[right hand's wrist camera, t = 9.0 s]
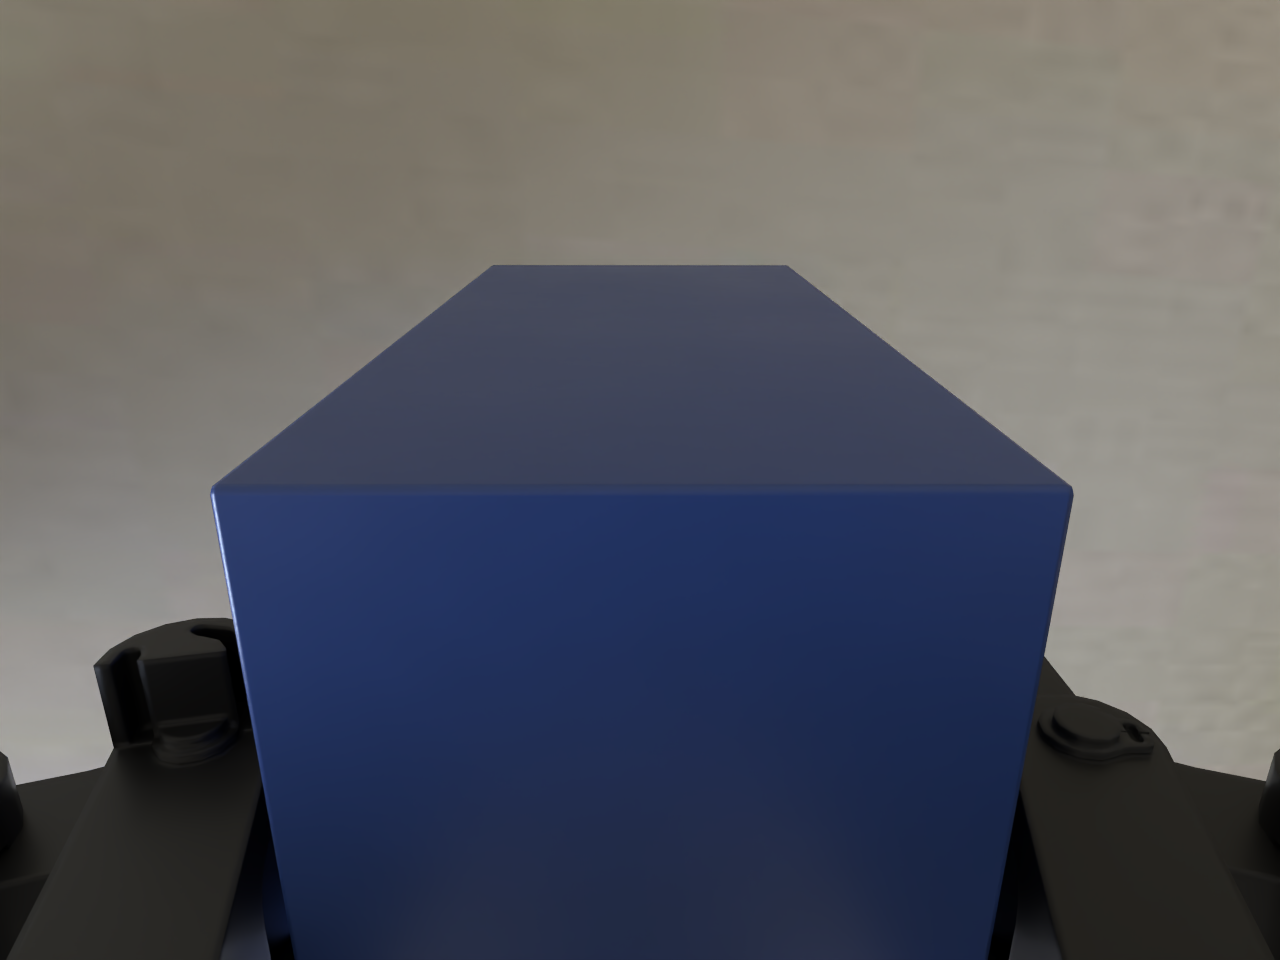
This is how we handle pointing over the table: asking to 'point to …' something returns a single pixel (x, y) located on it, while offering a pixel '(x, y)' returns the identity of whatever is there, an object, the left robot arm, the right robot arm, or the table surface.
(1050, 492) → the bar
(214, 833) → the right robot arm
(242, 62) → the table surface
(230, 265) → the table surface
